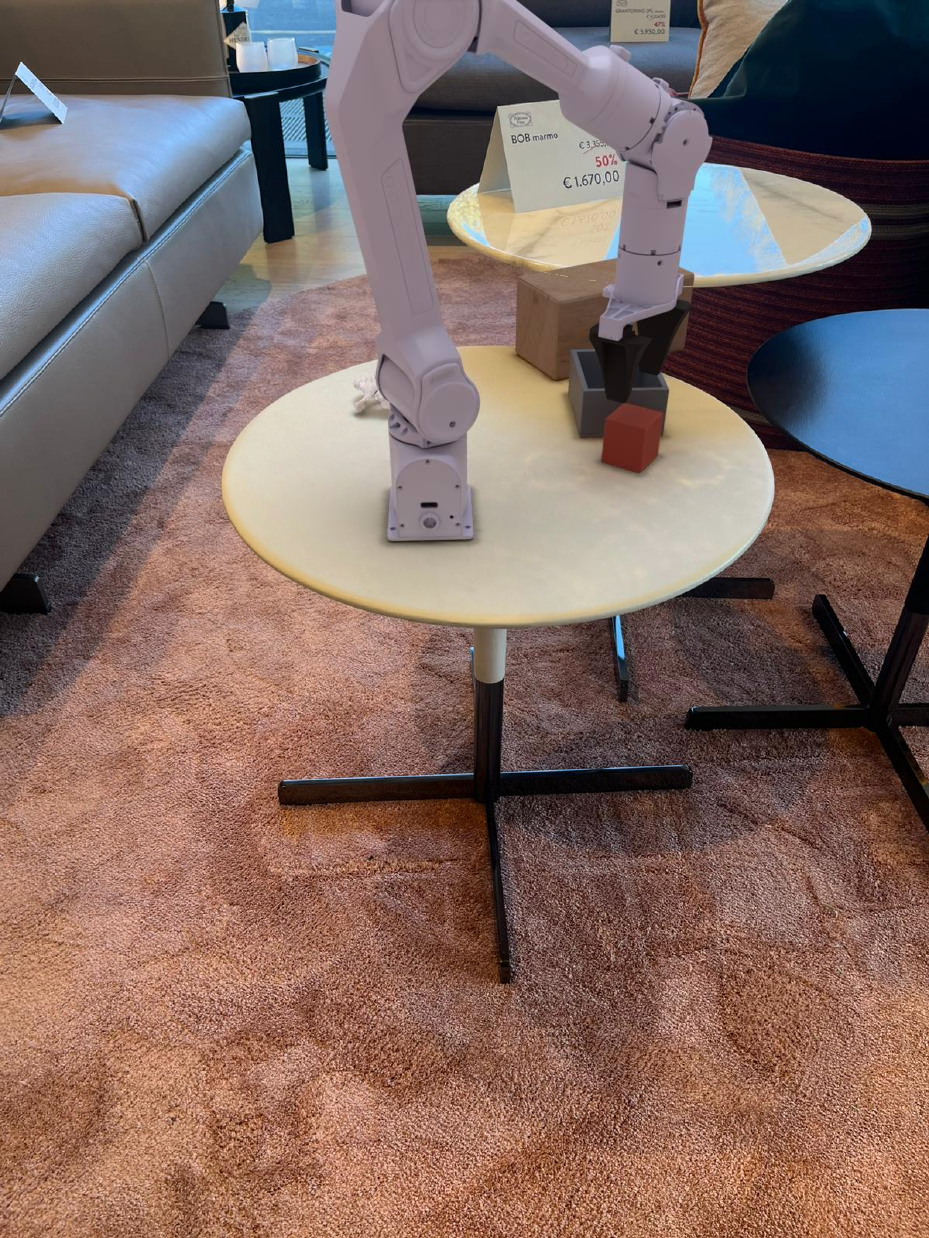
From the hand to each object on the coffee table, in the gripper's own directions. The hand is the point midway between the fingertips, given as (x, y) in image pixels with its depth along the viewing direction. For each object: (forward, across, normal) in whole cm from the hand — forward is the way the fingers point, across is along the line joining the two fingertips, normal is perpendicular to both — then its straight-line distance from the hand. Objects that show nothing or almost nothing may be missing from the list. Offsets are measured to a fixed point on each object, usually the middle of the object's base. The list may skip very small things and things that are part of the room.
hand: (633, 386), depth 93 cm
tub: (+8, -9, -6) cm, 13 cm away
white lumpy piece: (+8, +4, -29) cm, 30 cm away
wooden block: (+3, -15, -20) cm, 25 cm away
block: (+8, 0, 0) cm, 8 cm away
